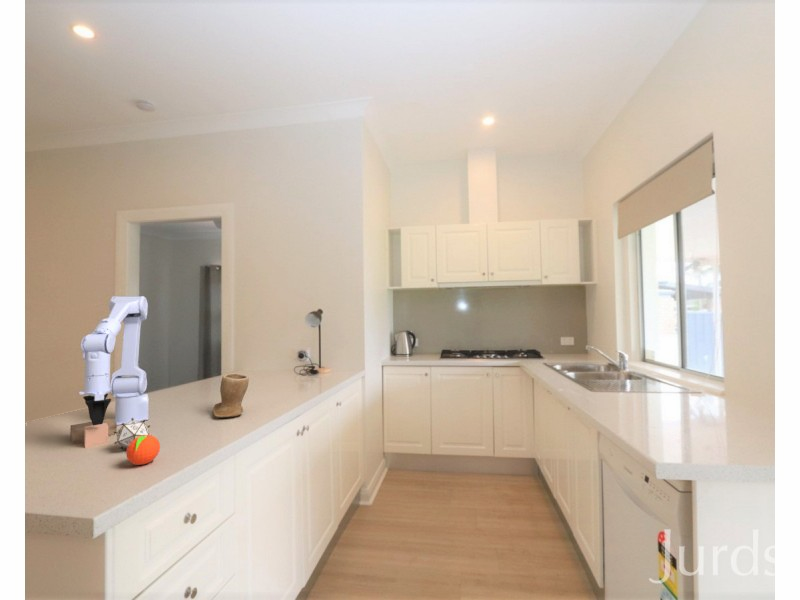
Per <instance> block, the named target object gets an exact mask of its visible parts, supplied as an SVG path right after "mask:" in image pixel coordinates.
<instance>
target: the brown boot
mask: <svg viewBox="0 0 800 600" xmlns="http://www.w3.org/2000/svg"><path fill="white" fill-rule="evenodd" d="M249 380H250V378H249V376H247V375H246V374H241V373H233V372H231V373H225V374H224V375H223V376H222V378H221V381H220V388H219V389H220V390H219V392H220V398H221V401H220V402H218V403H216V404H214V407H213V416H215V418H231V417H237V416H240V415H242V414H243V413H244V408H243V406H242V402H243V399H244V397H245V394H246V392H247V390H248V386H249Z"/></svg>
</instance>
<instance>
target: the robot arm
mask: <svg viewBox="0 0 800 600" xmlns="http://www.w3.org/2000/svg"><path fill="white" fill-rule="evenodd" d="M108 306H109V307H108V308H109V311H110V312H109V313H108V316H107V318H102V319H101V320H100V321H99V322H98V324H97V325H96V326H95V328H94V330H93V331H92V332H91V333H89V334H87V335H85V336H84V337H82V338H81V339H82V340H81V342H80V343H81V344H80V350H81V353H82V360H84V386H83V387H84V390H83V391H79V392H78V395H79V396H80V395H84V396H82V398H83V400H84V402H85V405H86V407H87V408H88V414H89V419H90V420H91V421H90V422H92V424H93V425H99V424H102V423H103V420H104V419H105V416H106V412H107V409H108V407H109V405H110V403H111V402H112V399H111V398H107V397H108V395H109V394H110V395H111V396H113V398H114V399H115V402H114V403H115V405H114V407H115V409H114V410H115V411H114V418H112V419H113V420H114V421H115V422H116V423H117V426H119V425H122V423H124V425H125V424H127V423H128V422H130V421H132V420H131V419H132V418H134V421H142V422H143V420H145V421H148V420H149V402H150V400H149V394H148V393H145V391H147V388H148V387H147V386H148V379H147V372H146V371H145V370H143V369H142V368H141V367H139V366H138V365H139V355H140V354H139V352H140V340H141V328H142V327H141V326H142V322H143V321H145V320H147V316H148V308H149V304H148V300H147V298H146V296H144V295H142V296H129V295H128V296H124V295H123V296H118V295H113V296H112V297H111V298H110V300H109V304H108ZM121 322H122V323H123V324H124V325H123V338H122V347H121V359H120V360H121V363H120V368H119V369H117V370H116V371H114V372H113V373H111V357H112V356H111V355H112V354H111V353H112V352H113V351H114V349H115V344H116V341H117V339H116V337H118V334H119V333H120V331H121V329H122V324H121Z"/></svg>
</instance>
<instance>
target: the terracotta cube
mask: <svg viewBox="0 0 800 600" xmlns="http://www.w3.org/2000/svg"><path fill="white" fill-rule="evenodd" d="M106 443H108V444H109V437H108V425H107V423H102V424H99V425H90V426H85V427H84V442H83V445H84V448H85V449H87V447H88V448H92V446H93V447H96V446H97V445H98V446H102V445H101V444H103V445H107V444H106Z"/></svg>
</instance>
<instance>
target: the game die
mask: <svg viewBox="0 0 800 600" xmlns="http://www.w3.org/2000/svg"><path fill="white" fill-rule="evenodd" d="M131 420H132V421H130V422H128V423H126V424H124V423H122V424H121V427H120V428H119V429H117V432H114V433H116V440H117V441H114V443H113V444H114V445H117V444H119V445H120V450H123V449H124V448H126V449H127V448H128V446H129V444H130V443H131V442H132V441H133V440H134V439H135V438H137V437H139V436H143V435H150V432H149V428H150V427H151V425H147V424H145V422H146V420H143V421H134V418H132V419H131ZM151 436H153V435H152V434H151Z"/></svg>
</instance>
